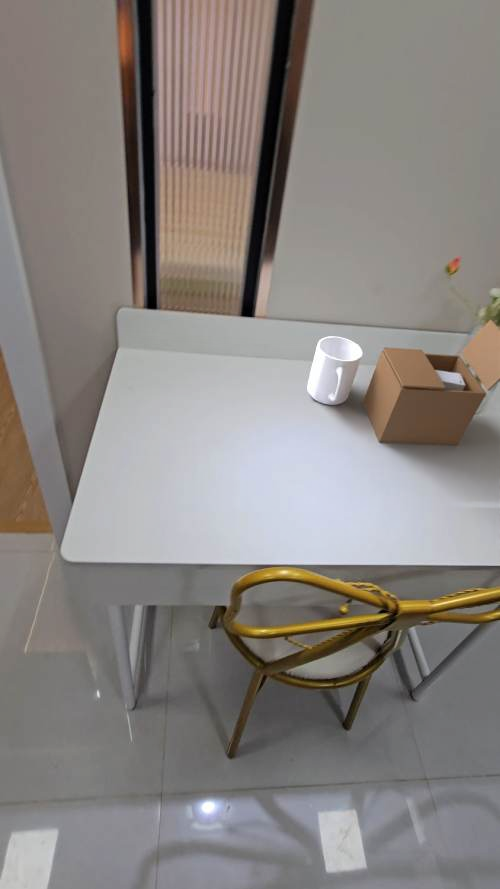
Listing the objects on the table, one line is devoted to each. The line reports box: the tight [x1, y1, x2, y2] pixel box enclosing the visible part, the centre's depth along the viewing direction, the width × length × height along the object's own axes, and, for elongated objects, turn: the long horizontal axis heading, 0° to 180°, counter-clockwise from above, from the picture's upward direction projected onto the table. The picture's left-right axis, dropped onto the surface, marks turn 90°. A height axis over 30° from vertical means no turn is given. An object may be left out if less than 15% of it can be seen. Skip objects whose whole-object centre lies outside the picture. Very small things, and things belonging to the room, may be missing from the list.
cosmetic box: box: [424, 370, 465, 391], centre depth 98 cm, size 6×4×12 cm
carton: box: [362, 346, 487, 446], centre depth 97 cm, size 17×13×14 cm
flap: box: [459, 319, 500, 392], centre depth 91 cm, size 8×13×1 cm
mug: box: [306, 335, 363, 406], centre depth 101 cm, size 10×12×12 cm
